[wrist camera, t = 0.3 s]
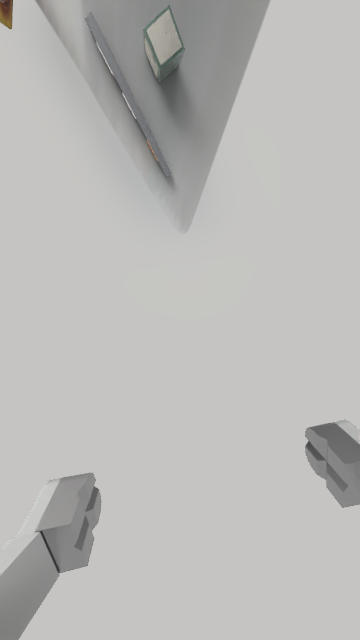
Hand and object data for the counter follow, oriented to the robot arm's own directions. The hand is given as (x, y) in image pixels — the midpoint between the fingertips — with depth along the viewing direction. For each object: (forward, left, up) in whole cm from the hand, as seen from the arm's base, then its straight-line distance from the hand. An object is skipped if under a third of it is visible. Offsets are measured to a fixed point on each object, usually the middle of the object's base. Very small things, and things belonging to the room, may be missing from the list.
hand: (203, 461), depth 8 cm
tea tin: (-16, +11, -53) cm, 56 cm away
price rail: (-13, +3, -53) cm, 54 cm away
